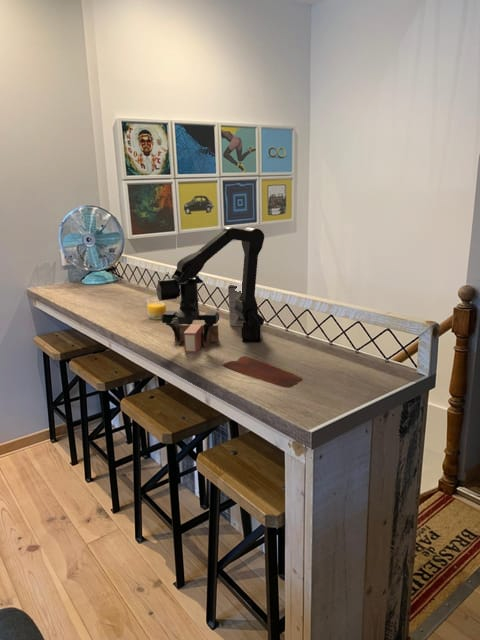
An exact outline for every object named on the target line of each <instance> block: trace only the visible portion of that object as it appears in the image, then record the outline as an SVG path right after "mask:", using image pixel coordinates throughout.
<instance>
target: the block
mask: <svg viewBox="0 0 480 640" xmlns="http://www.w3.org/2000/svg"><path fill="white" fill-rule="evenodd" d="M202 324H203V323H192V324H191V325H190V326H189V327H188V329H187V330H186V331H185V332H184V345H185V346H184V353H187V352H188V353H187V354H189V353H193V354H196V353H198V351H199V350H200V349H201V347H202V345H204V341H203V329H202Z"/></svg>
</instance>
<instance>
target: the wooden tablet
mask: <svg viewBox="0 0 480 640" xmlns="http://www.w3.org/2000/svg"><path fill="white" fill-rule="evenodd" d="M223 366H224V367H225V368H228V369H230V370H233V371H235V372H237V373H241V374H243V375H247V376H249V377H252V378H254V379H257V380H261V381H264V382H267V383H271V384H273V385H275V386H276V385H277V386H279V387H284V388H291V387H294V386H297V385H298V384H299V383H301V382H302V381H304V378H303V377H301V376H300V375H297V374H294V373H292V372H290V371H286V370H285V369H282V368H279V367H278V366H275V365H272V364H269V363H267V362H264V361H262V360H259V359H257V358H254V357H253V358H252V357H249V356H246V355H244V356H240V357H239V358H238V359H237V360H231V361H227V362H225V363H223Z"/></svg>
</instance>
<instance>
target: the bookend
mask: <svg viewBox="0 0 480 640" xmlns="http://www.w3.org/2000/svg"><path fill="white" fill-rule="evenodd" d="M187 329H188V328H187ZM187 329H186V330H187ZM178 345H179V346H182V347H183V346H184V347H185V345H184V340H183V341H181V342H179V344H178Z"/></svg>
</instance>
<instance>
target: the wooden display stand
mask: <svg viewBox="0 0 480 640" xmlns="http://www.w3.org/2000/svg"><path fill="white" fill-rule="evenodd" d="M201 324H202V329H203V346H204V347H208V346H210V344H211V343H213V342H215V343H216V342H219V340H220V338H219V337H220V336H219V324H217V323H216V324H214V325H213V326H211V328H210V330H209V333H208V337H207V340H206V342H204V324H205V323H201ZM189 326H190V325H187V324H182V325H180V324H179V329H180V341H181V342H182V341H183V340H184V332H185V331H186V329H187V328H188V327H189ZM173 334H174V341H175V342H176V341H177V342H178V340H177V338H176V336H175V333H174V332H173ZM180 341H179V342H180Z"/></svg>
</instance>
